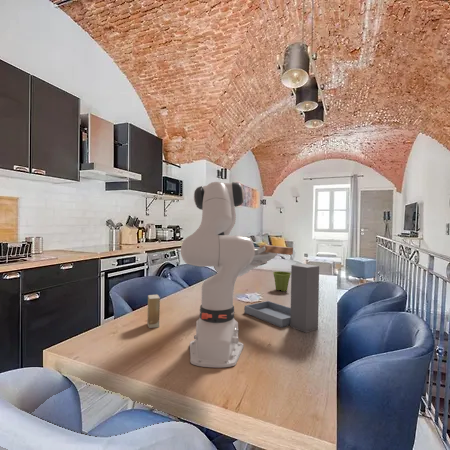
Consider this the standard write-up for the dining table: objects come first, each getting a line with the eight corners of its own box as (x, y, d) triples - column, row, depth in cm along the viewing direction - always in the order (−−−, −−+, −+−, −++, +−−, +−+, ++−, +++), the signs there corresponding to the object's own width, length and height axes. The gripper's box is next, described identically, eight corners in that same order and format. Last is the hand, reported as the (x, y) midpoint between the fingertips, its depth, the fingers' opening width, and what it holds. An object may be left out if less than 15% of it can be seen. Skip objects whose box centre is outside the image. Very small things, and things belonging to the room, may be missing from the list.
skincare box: (147, 323, 124) (147, 294, 124) (157, 322, 126) (157, 294, 126) (148, 328, 118) (149, 298, 118) (159, 327, 120) (160, 297, 120)
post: (290, 326, 123) (291, 265, 123) (302, 322, 128) (303, 263, 128) (305, 332, 117) (307, 267, 117) (318, 328, 122) (319, 266, 122)
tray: (244, 312, 141) (244, 305, 141) (268, 307, 151) (268, 300, 151) (282, 327, 122) (282, 319, 122) (306, 320, 131) (306, 312, 131)
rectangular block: (259, 251, 142) (259, 244, 142) (264, 250, 144) (264, 244, 144) (288, 254, 128) (288, 247, 128) (292, 254, 130) (293, 247, 130)
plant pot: (271, 291, 187) (271, 273, 187) (274, 287, 198) (274, 270, 198) (289, 293, 183) (290, 275, 183) (291, 289, 194) (292, 272, 194)
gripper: (234, 254, 144) (250, 242, 134) (263, 252, 156) (281, 241, 147) (237, 266, 141) (255, 255, 132) (268, 263, 154) (285, 252, 144)
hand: (269, 247), depth 139 cm, fingers closed on rectangular block, 3 cm apart
